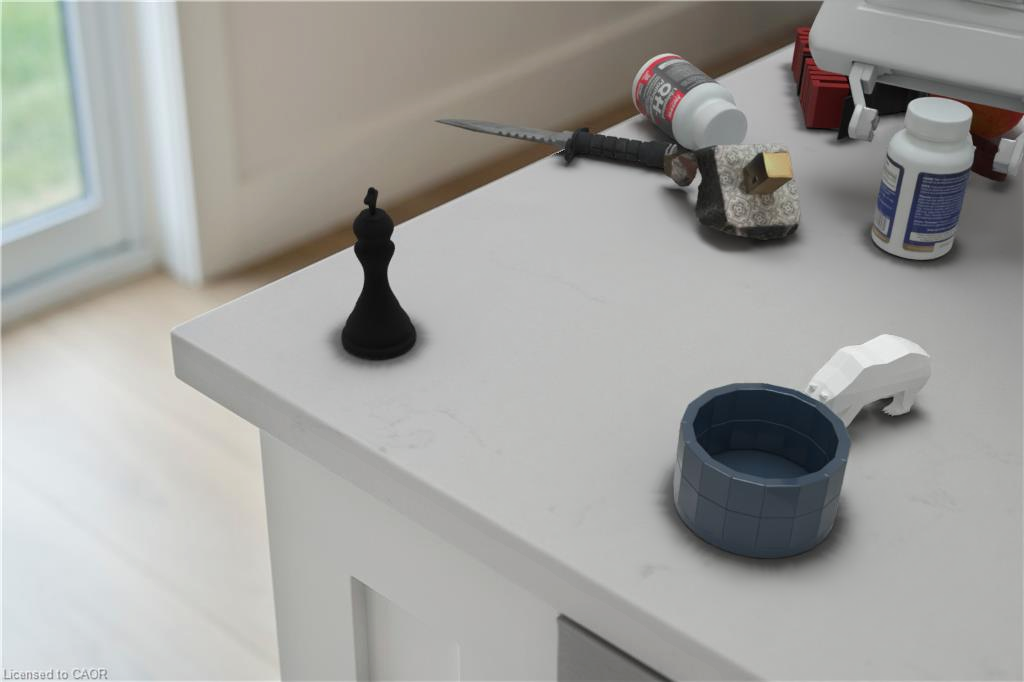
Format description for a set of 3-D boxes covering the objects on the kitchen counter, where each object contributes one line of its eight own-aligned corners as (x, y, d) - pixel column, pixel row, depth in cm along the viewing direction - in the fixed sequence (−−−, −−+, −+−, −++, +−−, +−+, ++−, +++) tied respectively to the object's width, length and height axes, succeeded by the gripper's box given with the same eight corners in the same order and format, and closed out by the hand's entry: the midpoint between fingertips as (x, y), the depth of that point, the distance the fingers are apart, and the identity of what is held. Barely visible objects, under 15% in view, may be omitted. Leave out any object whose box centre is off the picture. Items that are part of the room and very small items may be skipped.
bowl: (774, 436, 67) (786, 368, 64) (868, 530, 61) (885, 459, 58) (644, 474, 64) (651, 405, 62) (729, 577, 58) (740, 505, 56)
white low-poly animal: (925, 409, 69) (943, 340, 67) (812, 451, 66) (826, 380, 63) (894, 385, 71) (911, 317, 68) (783, 425, 68) (795, 355, 65)
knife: (448, 120, 101) (422, 142, 97) (448, 97, 100) (421, 119, 96) (680, 157, 95) (663, 181, 91) (682, 133, 94) (665, 157, 90)
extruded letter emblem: (808, 138, 98) (953, 146, 97) (815, 97, 96) (963, 105, 95) (787, 55, 113) (913, 61, 112) (792, 18, 111) (920, 24, 110)
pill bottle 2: (963, 239, 85) (997, 106, 80) (933, 271, 82) (966, 133, 76) (889, 215, 88) (916, 85, 82) (856, 245, 84) (883, 110, 79)
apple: (999, 71, 91) (1015, 2, 95) (901, 101, 96) (920, 35, 100) (1044, 143, 95) (1058, 74, 99) (947, 168, 100) (963, 102, 104)
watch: (998, 144, 89) (967, 187, 90) (1034, 166, 91) (1003, 208, 93) (929, 104, 95) (901, 145, 96) (965, 126, 97) (937, 166, 98)
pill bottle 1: (627, 62, 97) (693, 111, 90) (686, 43, 99) (756, 89, 91) (631, 124, 101) (695, 175, 93) (689, 104, 102) (756, 153, 95)
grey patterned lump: (720, 120, 92) (831, 123, 82) (737, 210, 94) (847, 224, 84) (629, 151, 89) (732, 159, 78) (648, 243, 91) (751, 262, 80)
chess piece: (330, 353, 73) (318, 200, 67) (356, 313, 76) (347, 165, 71) (403, 364, 72) (397, 211, 66) (425, 324, 75) (421, 174, 70)
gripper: (840, -86, 84) (771, 98, 83) (1167, -34, 76) (1097, 172, 75) (848, -38, 90) (784, 136, 89) (1153, 16, 82) (1087, 208, 80)
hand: (929, 153), depth 82 cm, fingers open, 8 cm apart
